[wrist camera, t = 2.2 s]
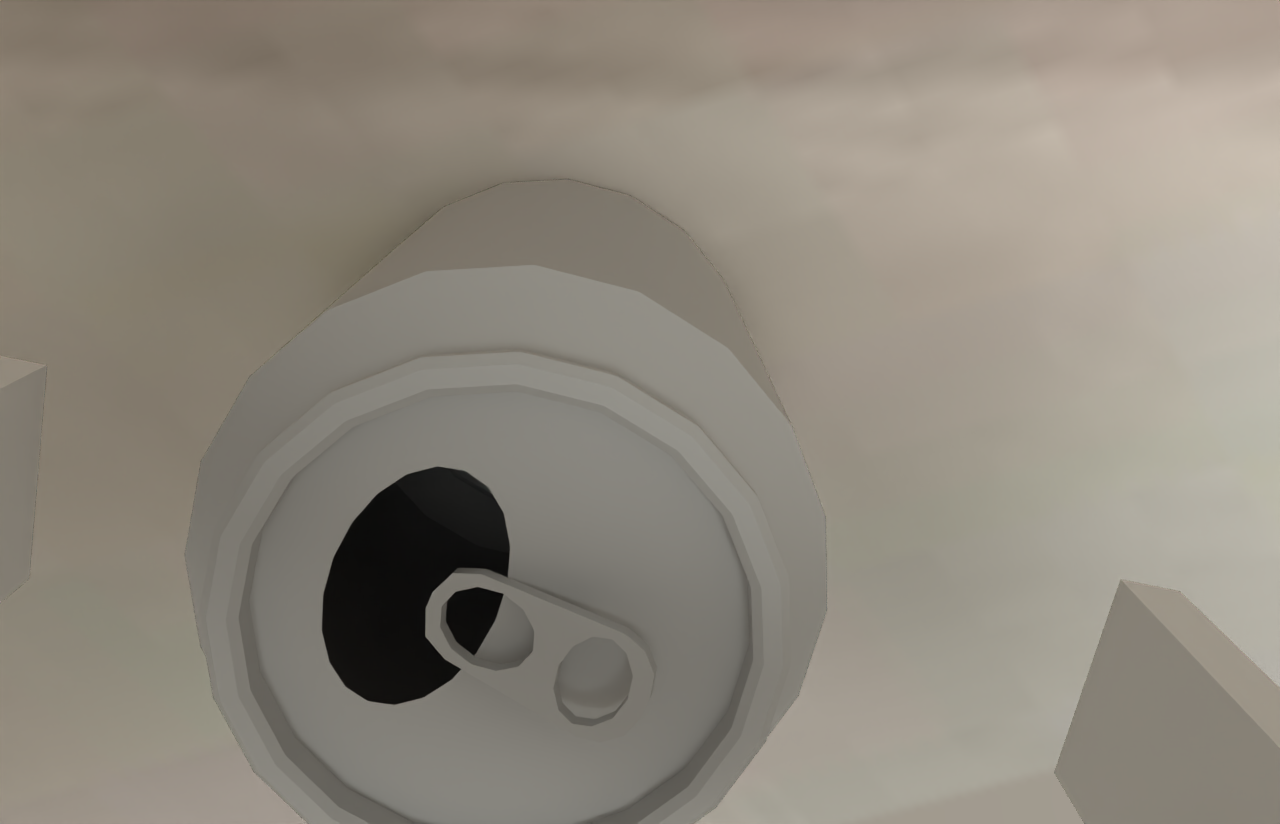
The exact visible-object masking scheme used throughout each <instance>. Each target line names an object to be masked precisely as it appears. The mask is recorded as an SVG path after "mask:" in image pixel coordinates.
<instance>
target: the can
mask: <svg viewBox="0 0 1280 824" xmlns="http://www.w3.org/2000/svg"><path fill="white" fill-rule="evenodd" d="M185 560H186V566H187V571H188V577H189V583H190V589H191V594H192V600H193V606H194V612H195V617H196V623H197V629H198V635H199V640H200V646H201V648H202V650H203V652H204V654H205V656H206V659H207V665H208V670H209V676H210V682H211V688H212V694H213V698H214V700H215V702H216V704H217V705H218V707H219V709H220V711H221V713H222V715H223V716H224V718H225V720H226V722H227V724H228V725H229V727H230V729H231V731H232V733H233V735H234V736H235V738H236V740H237V742H238V744H239V746H240V747H241V749H242V751H243V753H244V755H245V756H246V758H247V760H248V762H249V764H250V766H251V767H252V769H253V771H254V773H255V774H257V775H258V776H259V777H260V778H261V779H262V780H263V781H264V782H265V783H266V784H267V785H268V786H269V787H270V788H271V789H272V790H273V791H274V792H275V793H276V794H277V795H278V796H280V797H281V798H282V799H283V800H284V801H285V802H286V803H287V804H288V805H289V806H290V807H291V808H292V809H293V810H294V811H295V812H296V813H297V814H298V815H299V816H300V817H302V818H303V819H304V820H305V821H306V822H307V823H308V824H694V823H695V822H697V821H698V820H699V819H701V818H702V817H704V816H705V815H706V814H708V813H709V812H711V811H712V810H713V809H715V808H716V807H717V805H718V804H719V803H720V801H721V800H722V799H723V797H724V796H725V795H726V794H727V792H728V791H729V790H730V788H731V787H732V786H733V784H734V783H735V782H736V780H737V779H738V778H739V776H740V775H741V774H742V772H743V771H744V770H745V768H746V767H747V766H748V764H749V763H750V762H751V760H752V759H753V758H754V756H755V755H756V754H757V752H758V751H759V750H760V748H761V747H762V746H763V744H764V743H765V742H766V739H767V737H768V735H769V734H770V733H771V731H772V730H773V729H774V727H775V726H776V725H777V723H778V722H779V721H780V720H781V718H782V717H783V716H784V714H785V713H786V712H787V710H788V709H789V708H790V706H791V705H792V704H793V702H794V701H795V700H796V698H797V697H798V695H799V692H800V689H801V686H802V683H803V680H804V677H805V674H806V671H807V668H808V665H809V662H810V659H811V656H812V653H813V650H814V647H815V644H816V641H817V638H818V635H819V632H820V629H821V626H822V623H823V620H824V617H825V614H826V611H827V567H826V516H825V513H824V511H823V508H822V505H821V503H820V500H819V497H818V494H817V492H816V489H815V486H814V484H813V481H812V478H811V475H810V473H809V470H808V467H807V465H806V462H805V459H804V457H803V454H802V451H801V448H800V446H799V443H798V440H797V438H796V435H795V432H794V430H793V427H792V425H791V422H790V420H789V418H788V416H787V414H786V412H785V410H784V408H783V405H782V403H781V401H780V399H779V397H778V395H777V393H776V390H775V388H774V386H773V384H772V382H771V380H770V378H769V376H768V373H767V371H766V369H765V367H764V365H763V363H762V361H761V358H760V356H759V354H758V352H757V350H756V348H755V346H754V344H753V341H752V339H751V337H750V335H749V333H748V331H747V329H746V326H745V324H744V322H743V320H742V318H741V316H740V314H739V312H738V309H737V307H736V305H735V303H734V301H733V299H732V297H731V294H730V292H729V290H728V288H727V286H726V284H725V282H724V280H723V278H722V277H721V276H720V274H719V273H718V272H717V271H716V269H715V268H714V267H713V266H712V264H711V263H710V262H709V261H708V259H707V258H706V257H705V256H704V255H703V253H702V252H701V251H700V250H699V248H698V247H697V246H696V245H695V243H694V242H693V241H692V240H691V238H690V237H689V236H688V235H687V233H686V232H685V231H684V230H683V229H681V228H680V227H678V226H677V225H675V224H674V223H672V222H670V221H669V220H667V219H666V218H664V217H663V216H661V215H660V214H658V213H656V212H655V211H653V210H652V209H650V208H649V207H647V206H646V205H644V204H643V203H641V202H639V201H638V200H636V199H635V198H633V197H632V196H630V195H626V194H623V193H619V192H615V191H611V190H607V189H604V188H600V187H596V186H592V185H588V184H585V183H581V182H577V181H573V180H569V179H560V180H543V181H526V182H510V183H502V184H499V185H497V186H494V187H492V188H489V189H487V190H484V191H482V192H479V193H477V194H474V195H472V196H469V197H467V198H464V199H462V200H459V201H457V202H454V203H452V204H449V205H447V206H444V207H443V208H442V209H441V210H439V211H438V212H437V213H436V214H435V215H434V216H432V217H431V218H430V219H429V220H428V221H426V222H425V223H424V224H423V225H422V226H421V227H419V228H418V229H417V230H416V231H415V232H414V233H412V234H411V235H410V236H409V237H408V238H407V239H405V240H404V241H403V242H402V243H401V244H400V245H398V246H397V247H396V248H395V249H394V250H393V251H391V252H390V253H389V254H388V255H387V256H386V257H385V258H384V259H382V260H381V261H380V262H379V263H378V264H377V265H376V266H374V267H373V268H372V269H371V270H370V271H369V272H368V273H367V274H365V275H364V276H363V277H362V278H361V279H360V280H359V281H357V282H356V283H355V284H354V285H353V286H352V287H351V288H349V289H348V290H347V291H346V292H345V293H344V294H343V295H342V296H340V297H339V298H338V299H337V300H336V301H335V302H334V303H332V304H331V305H330V306H329V307H328V308H327V309H326V310H325V311H323V312H322V313H321V314H320V315H319V316H318V317H317V318H315V319H314V320H313V321H312V322H311V323H310V324H309V325H307V326H306V327H305V328H304V329H303V330H302V331H301V332H300V333H298V334H297V335H296V336H295V337H294V338H293V339H292V340H290V341H289V342H288V343H287V344H286V345H285V346H284V347H283V348H281V349H280V350H279V351H278V352H277V353H276V354H275V355H273V356H272V357H271V358H270V359H269V360H268V361H267V362H265V363H264V364H263V365H262V366H261V367H260V368H259V369H258V370H256V371H255V372H254V373H253V374H252V375H251V376H250V377H249V378H248V380H247V382H246V384H245V385H244V387H243V389H242V391H241V392H240V394H239V396H238V398H237V399H236V401H235V403H234V405H233V406H232V408H231V410H230V411H229V413H228V415H227V417H226V418H225V420H224V422H223V424H222V425H221V427H220V429H219V431H218V432H217V434H216V436H215V438H214V439H213V441H212V443H211V445H210V446H209V448H208V450H207V452H206V453H205V455H204V457H203V459H202V460H201V463H200V469H199V475H198V481H197V486H196V492H195V498H194V504H193V510H192V515H191V521H190V527H189V533H188V538H187V544H186V550H185Z"/></svg>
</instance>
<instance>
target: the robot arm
mask: <svg viewBox="0 0 1280 824" xmlns="http://www.w3.org/2000/svg"><path fill="white" fill-rule="evenodd" d="M46 373H47V365H45V364H40V363H35V362H30V361H25V360H20V359H15V358H10V357H5V356H0V603H1V602H3V601H4V600H5V599H6V598H7V597H8V596H10V595H11V594H12V593H13V592H14V591H16V590H17V589H18V588H19V587H20V586H21V585H23V584H24V583H25V582H26V581H27V580H28V579H29V576H30V564H31V552H32V540H33V528H34V516H35V504H36V492H37V480H38V469H39V457H40V445H41V433H42V421H43V409H44V397H45V385H46ZM1054 773H1055V775H1056V777H1057V779H1058V780H1059V782H1060V783H1061V785H1062V787H1063V789H1064V790H1065V792H1066V794H1067V795H1068V797H1069V799H1070V800H1071V802H1072V804H1073V805H1074V807H1075V809H1076V811H1077V812H1078V814H1079V816H1080V817H1081V819H1082V821H1083V822H1084V824H1280V688H1279V687H1278V686H1277V685H1276V684H1275V683H1274V682H1273V681H1272V680H1271V679H1270V678H1269V677H1268V676H1267V675H1266V674H1265V673H1264V672H1263V671H1262V670H1261V669H1260V668H1259V667H1258V666H1257V665H1256V664H1255V663H1254V662H1252V661H1251V660H1250V659H1249V658H1248V657H1247V656H1246V655H1245V654H1244V653H1243V652H1242V651H1241V650H1240V649H1239V648H1238V647H1237V646H1236V645H1235V644H1234V643H1233V642H1232V641H1231V640H1230V639H1229V638H1228V637H1227V636H1226V635H1225V634H1224V633H1222V632H1221V631H1220V630H1219V629H1218V628H1217V627H1216V626H1215V625H1214V624H1213V623H1212V622H1211V621H1210V620H1209V619H1208V618H1207V617H1206V616H1205V615H1204V614H1203V613H1202V612H1201V611H1200V610H1199V609H1198V608H1197V607H1196V606H1195V605H1194V604H1192V603H1191V602H1190V601H1189V600H1188V599H1187V598H1186V597H1185V596H1184V595H1183V594H1182V593H1181V592H1180V591H1176V590H1171V589H1166V588H1161V587H1156V586H1151V585H1146V584H1141V583H1136V582H1131V581H1126V580H1120V583H1119V586H1118V588H1117V591H1116V594H1115V597H1114V600H1113V603H1112V606H1111V609H1110V612H1109V615H1108V617H1107V620H1106V623H1105V626H1104V629H1103V632H1102V635H1101V638H1100V641H1099V644H1098V647H1097V649H1096V652H1095V655H1094V658H1093V661H1092V664H1091V667H1090V670H1089V673H1088V676H1087V678H1086V681H1085V684H1084V687H1083V690H1082V693H1081V696H1080V699H1079V702H1078V705H1077V707H1076V710H1075V713H1074V716H1073V719H1072V722H1071V725H1070V728H1069V731H1068V734H1067V737H1066V739H1065V742H1064V745H1063V748H1062V751H1061V754H1060V757H1059V760H1058V763H1057V766H1056V768H1055V771H1054Z"/></svg>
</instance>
